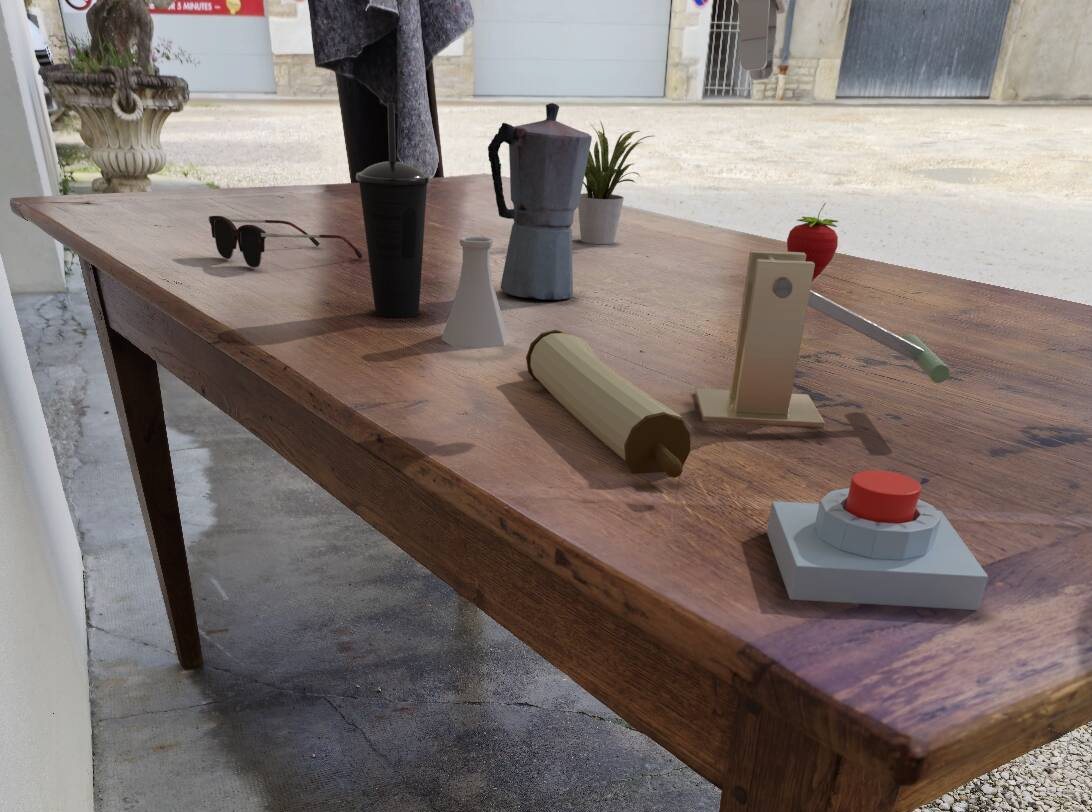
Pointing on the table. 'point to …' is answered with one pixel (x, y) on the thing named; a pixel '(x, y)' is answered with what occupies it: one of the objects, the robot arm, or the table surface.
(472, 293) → the flask
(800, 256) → the bracket
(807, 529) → the control block
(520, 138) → the moka pot
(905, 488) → the button
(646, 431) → the rolling pin
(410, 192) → the drinking cup
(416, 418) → the table surface
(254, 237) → the sunglasses
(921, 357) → the lever
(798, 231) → the strawberry
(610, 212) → the house plant
